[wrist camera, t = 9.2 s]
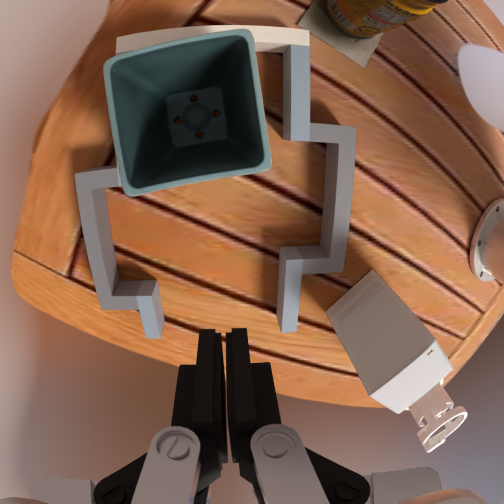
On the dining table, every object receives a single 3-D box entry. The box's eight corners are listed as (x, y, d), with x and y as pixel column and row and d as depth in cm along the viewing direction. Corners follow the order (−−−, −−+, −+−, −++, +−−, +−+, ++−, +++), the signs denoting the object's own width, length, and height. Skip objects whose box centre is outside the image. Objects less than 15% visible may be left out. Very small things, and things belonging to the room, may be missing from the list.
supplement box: (322, 311, 32) (366, 396, 20) (372, 266, 30) (438, 337, 19) (355, 340, 34) (397, 416, 23) (399, 302, 33) (456, 369, 21)
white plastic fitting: (375, 374, 38) (417, 453, 24) (408, 340, 36) (462, 416, 22) (398, 383, 40) (437, 452, 26) (428, 353, 38) (476, 419, 24)
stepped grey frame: (341, 46, 21) (355, 38, 18) (324, 311, 32) (333, 327, 29) (87, 55, 18) (73, 48, 16) (117, 320, 29) (110, 337, 27)
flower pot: (139, 80, 20) (100, 59, 12) (241, 60, 21) (252, 26, 13) (155, 175, 24) (124, 199, 16) (255, 157, 24) (273, 171, 16)
